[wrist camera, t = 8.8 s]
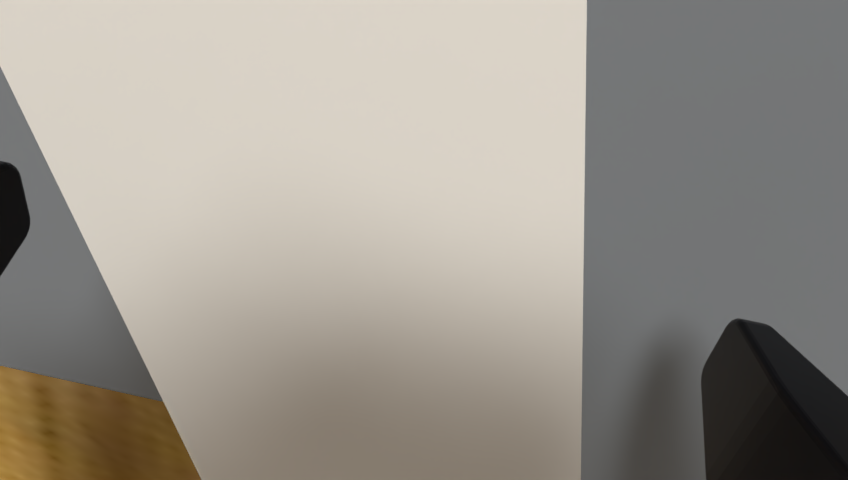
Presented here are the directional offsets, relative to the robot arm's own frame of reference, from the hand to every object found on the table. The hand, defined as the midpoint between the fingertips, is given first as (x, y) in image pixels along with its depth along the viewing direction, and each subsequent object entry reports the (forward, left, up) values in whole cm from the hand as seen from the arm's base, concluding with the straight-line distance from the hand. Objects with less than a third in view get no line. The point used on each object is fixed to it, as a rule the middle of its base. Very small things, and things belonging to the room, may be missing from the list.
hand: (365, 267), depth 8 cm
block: (0, 0, -3) cm, 3 cm away
